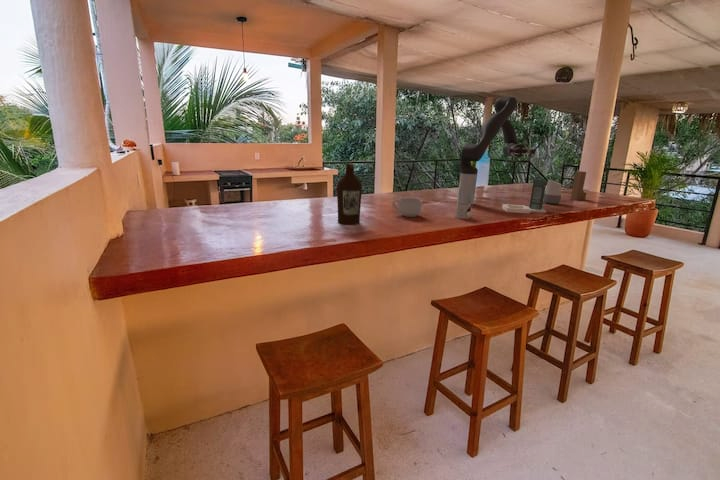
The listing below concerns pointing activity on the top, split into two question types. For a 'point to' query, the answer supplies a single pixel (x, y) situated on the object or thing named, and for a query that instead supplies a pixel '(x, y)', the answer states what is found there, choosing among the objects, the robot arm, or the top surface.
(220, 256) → the top surface
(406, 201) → the teacup
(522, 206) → the well rim
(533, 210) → the white rectangular plate
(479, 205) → the top surface
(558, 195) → the smart speaker
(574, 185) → the wooden block
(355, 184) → the olive oil
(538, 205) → the can
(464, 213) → the mug
